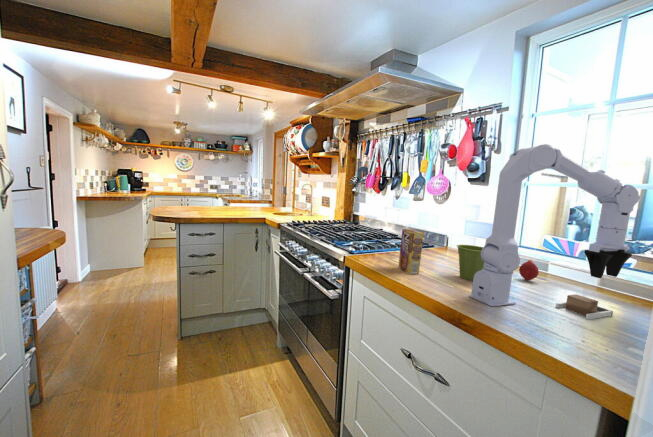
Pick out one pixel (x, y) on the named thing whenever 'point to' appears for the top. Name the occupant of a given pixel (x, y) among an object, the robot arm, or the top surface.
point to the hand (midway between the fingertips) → (603, 276)
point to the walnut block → (581, 304)
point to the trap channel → (599, 313)
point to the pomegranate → (528, 270)
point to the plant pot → (469, 261)
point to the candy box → (410, 251)
